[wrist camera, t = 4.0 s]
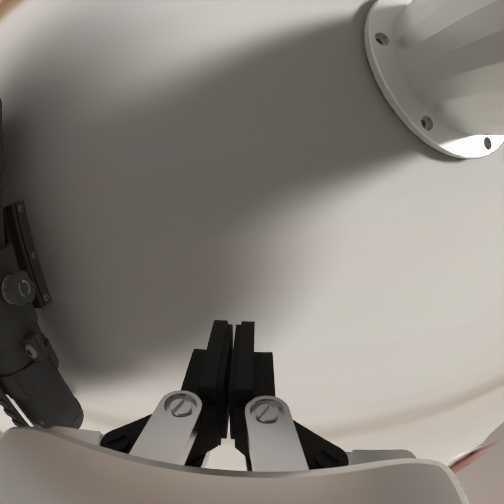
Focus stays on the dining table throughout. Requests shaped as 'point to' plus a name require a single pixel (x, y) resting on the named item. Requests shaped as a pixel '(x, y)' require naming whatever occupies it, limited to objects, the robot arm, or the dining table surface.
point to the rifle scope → (27, 328)
